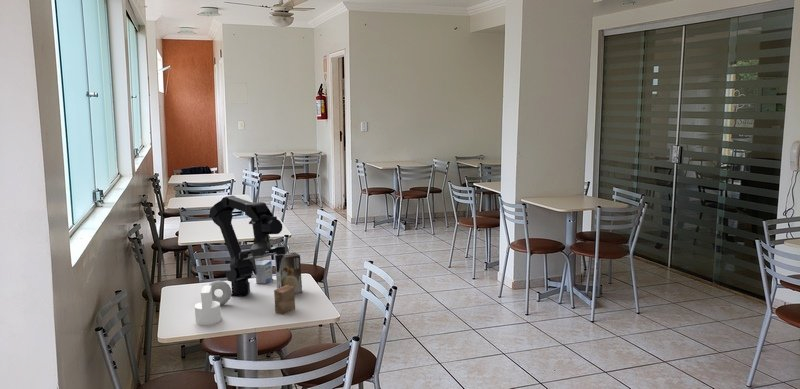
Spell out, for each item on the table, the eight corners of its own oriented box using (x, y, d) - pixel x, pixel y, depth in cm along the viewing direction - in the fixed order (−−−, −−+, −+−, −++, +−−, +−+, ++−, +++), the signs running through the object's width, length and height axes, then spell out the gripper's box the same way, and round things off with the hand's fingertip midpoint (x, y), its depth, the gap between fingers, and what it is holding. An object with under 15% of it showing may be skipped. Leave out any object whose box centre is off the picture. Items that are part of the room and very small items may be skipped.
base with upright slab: (220, 323, 225) (218, 291, 223) (194, 325, 223) (192, 293, 221) (221, 315, 233) (220, 284, 231) (196, 317, 231) (194, 286, 229)
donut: (232, 302, 247) (231, 278, 246) (232, 305, 244) (230, 281, 243) (206, 304, 246) (205, 280, 244) (205, 307, 242) (204, 282, 241)
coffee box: (297, 288, 265) (295, 251, 262) (302, 292, 259) (301, 255, 257) (276, 291, 261) (274, 254, 258) (281, 295, 255) (279, 258, 253)
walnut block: (275, 312, 235) (274, 290, 234) (286, 307, 241) (286, 285, 240) (283, 314, 233) (282, 291, 232) (295, 309, 239) (294, 286, 238)
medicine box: (265, 284, 272) (264, 265, 270) (255, 283, 272) (254, 264, 271) (272, 278, 279) (271, 260, 278) (263, 278, 280) (262, 259, 279)
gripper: (231, 240, 237) (237, 280, 238) (278, 234, 235) (284, 274, 236) (241, 236, 248) (246, 274, 249) (286, 230, 246) (291, 269, 247)
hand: (266, 273), depth 245 cm, fingers open, 9 cm apart
